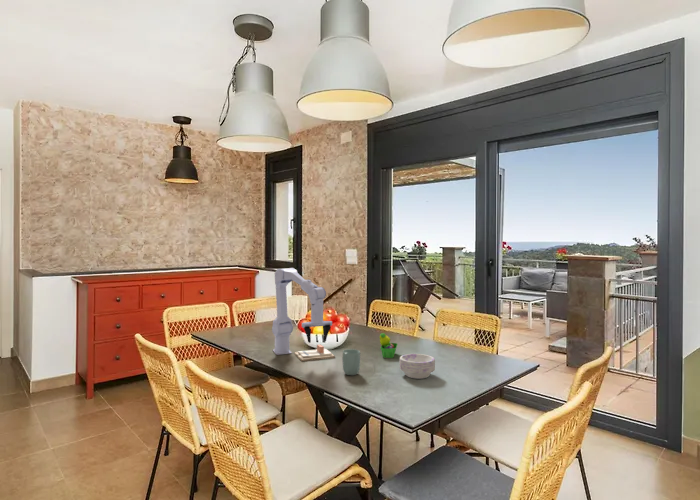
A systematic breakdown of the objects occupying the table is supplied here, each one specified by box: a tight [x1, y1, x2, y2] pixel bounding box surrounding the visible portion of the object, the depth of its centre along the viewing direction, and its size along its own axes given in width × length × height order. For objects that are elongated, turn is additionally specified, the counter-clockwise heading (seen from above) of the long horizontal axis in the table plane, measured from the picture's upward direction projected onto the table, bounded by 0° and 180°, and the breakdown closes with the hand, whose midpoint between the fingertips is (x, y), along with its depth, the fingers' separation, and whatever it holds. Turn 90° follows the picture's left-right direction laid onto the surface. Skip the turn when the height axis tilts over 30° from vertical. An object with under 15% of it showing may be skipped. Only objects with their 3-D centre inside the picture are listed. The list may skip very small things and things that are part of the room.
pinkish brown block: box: [314, 344, 333, 356], centre depth 213 cm, size 10×6×4 cm, turn 22°
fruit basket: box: [378, 332, 398, 359], centre depth 214 cm, size 11×9×11 cm
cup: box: [341, 348, 361, 376], centre depth 183 cm, size 8×8×10 cm
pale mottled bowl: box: [399, 353, 436, 380], centre depth 182 cm, size 15×15×8 cm
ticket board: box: [293, 349, 336, 362], centre depth 211 cm, size 14×17×2 cm
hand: (316, 341), depth 199 cm, fingers open, 7 cm apart
